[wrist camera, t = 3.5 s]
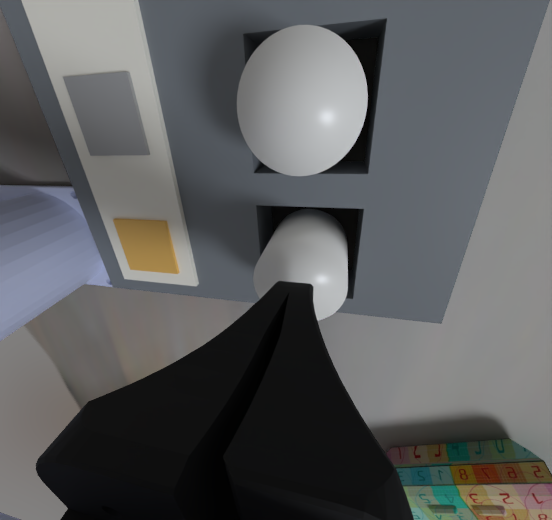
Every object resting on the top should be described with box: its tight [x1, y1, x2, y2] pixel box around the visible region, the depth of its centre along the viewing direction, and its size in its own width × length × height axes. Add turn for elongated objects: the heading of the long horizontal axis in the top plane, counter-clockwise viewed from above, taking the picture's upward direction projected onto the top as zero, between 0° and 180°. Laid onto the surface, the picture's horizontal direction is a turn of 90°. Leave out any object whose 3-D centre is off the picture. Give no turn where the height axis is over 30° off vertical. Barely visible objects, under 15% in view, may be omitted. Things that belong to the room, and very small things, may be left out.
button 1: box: [253, 209, 348, 321], centre depth 13 cm, size 4×4×4 cm
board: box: [0, 0, 550, 324], centre depth 12 cm, size 20×20×4 cm
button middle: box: [237, 25, 368, 176], centre depth 10 cm, size 4×4×4 cm
